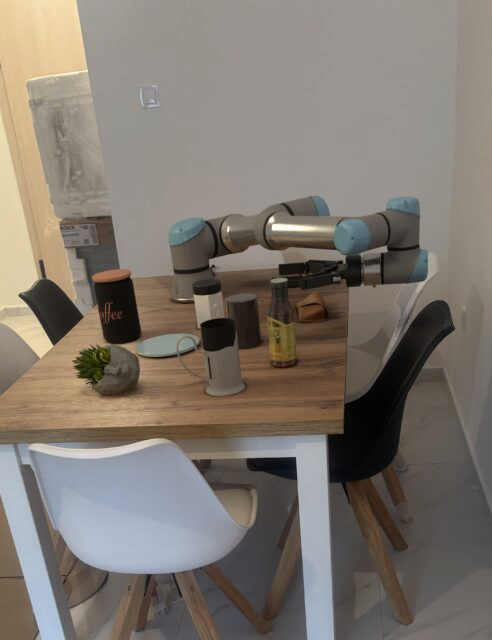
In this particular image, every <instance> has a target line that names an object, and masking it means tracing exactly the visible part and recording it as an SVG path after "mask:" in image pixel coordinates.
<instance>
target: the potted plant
mask: <svg viewBox="0 0 492 640" xmlns="http://www.w3.org/2000/svg"><path fill="white" fill-rule="evenodd" d="M89 346H90V347H91V348H90V347H86V348H85V347H82V349H80V350H78V352H77V353H76V354H78V355H80V356H74V359H73V360H71V362H72V363H73V364H72V367H73V368H72V369H73V370H75V371H77V372H74V373H73V374H75V375H74V377H76V379H81V380H85V381H84V385H89V386H91V389H92V390H93V391H94V392H96V393H97V394H98V395H100V396H102V397H103V396H112V395H117V394H122V393H124V392H127V391H130V390H133V389H135V388H136V386H137V385H138V382H139V380H140V374H141V367H140V366H141V365H140V359H139V357H138V356H137V355H136V354H135V353H134V352H132V351H130V350H129V349H127V348H126V347H124V346H120V345H118V344H108V345H105V346H101V345H98V344H97V343H95V346H93V345H92V344H89Z"/></svg>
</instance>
